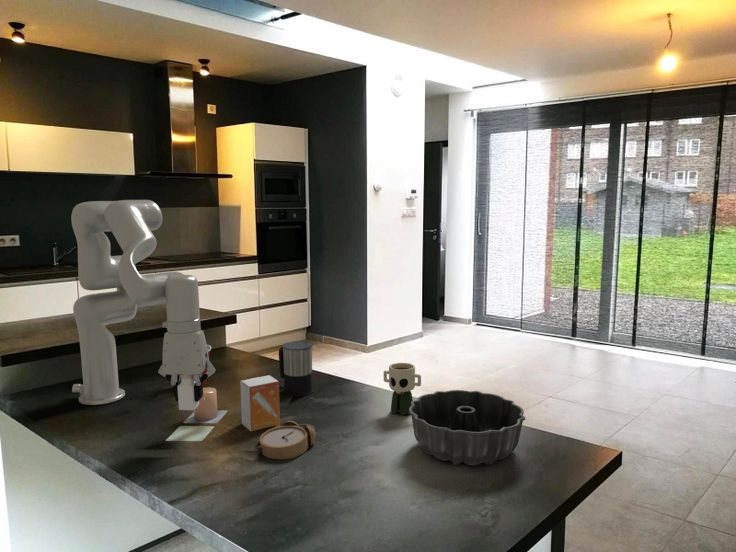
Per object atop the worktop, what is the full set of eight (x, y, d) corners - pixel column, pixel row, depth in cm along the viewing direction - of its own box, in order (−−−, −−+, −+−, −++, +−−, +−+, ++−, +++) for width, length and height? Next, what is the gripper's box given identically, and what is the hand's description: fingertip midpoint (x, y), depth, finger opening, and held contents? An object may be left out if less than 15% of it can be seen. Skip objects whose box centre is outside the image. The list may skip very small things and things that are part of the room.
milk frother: (320, 390, 179) (318, 343, 177) (286, 405, 166) (284, 355, 164) (284, 382, 186) (283, 337, 184) (250, 397, 173) (247, 348, 171)
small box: (251, 437, 144) (248, 386, 142) (241, 429, 149) (239, 380, 148) (281, 429, 148) (279, 380, 147) (270, 422, 154) (269, 374, 152)
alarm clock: (248, 441, 135) (291, 410, 147) (252, 459, 137) (294, 428, 148) (283, 452, 129) (325, 420, 140) (286, 472, 130) (328, 438, 142)
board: (153, 448, 139) (153, 442, 138) (188, 414, 160) (187, 408, 160) (211, 449, 138) (211, 443, 137) (238, 414, 159) (237, 409, 159)
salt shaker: (184, 405, 144) (182, 368, 143) (200, 405, 144) (198, 368, 143) (178, 410, 141) (175, 372, 139) (193, 411, 140) (191, 373, 139)
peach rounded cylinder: (190, 420, 151) (189, 394, 150) (198, 412, 157) (197, 387, 156) (213, 421, 151) (211, 395, 150) (220, 412, 157) (219, 387, 156)
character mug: (378, 413, 158) (378, 367, 156) (388, 405, 165) (388, 360, 163) (416, 419, 154) (416, 372, 152) (425, 410, 160) (425, 364, 158)
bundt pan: (545, 448, 135) (546, 407, 134) (481, 489, 117) (482, 442, 116) (453, 418, 154) (453, 382, 153) (386, 450, 135) (385, 409, 134)
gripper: (143, 330, 137) (148, 405, 139) (213, 329, 135) (217, 405, 138) (157, 323, 144) (161, 394, 146) (223, 323, 143) (227, 394, 145)
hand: (188, 399), depth 142 cm, fingers closed on salt shaker, 4 cm apart
